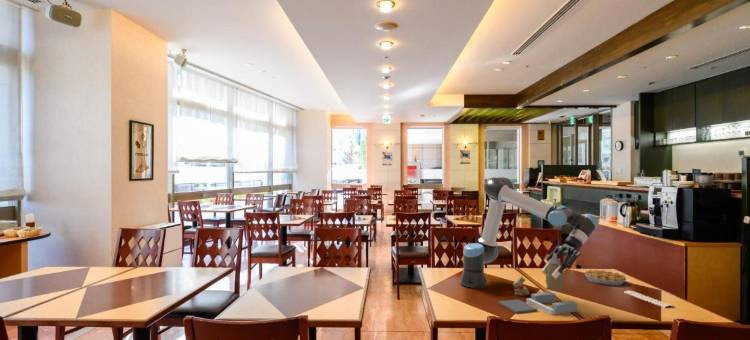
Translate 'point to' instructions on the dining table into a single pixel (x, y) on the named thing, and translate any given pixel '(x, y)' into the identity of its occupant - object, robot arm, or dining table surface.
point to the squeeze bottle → (550, 280)
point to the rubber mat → (517, 306)
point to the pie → (605, 277)
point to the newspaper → (647, 299)
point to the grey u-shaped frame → (556, 307)
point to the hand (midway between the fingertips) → (548, 274)
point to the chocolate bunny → (520, 287)
